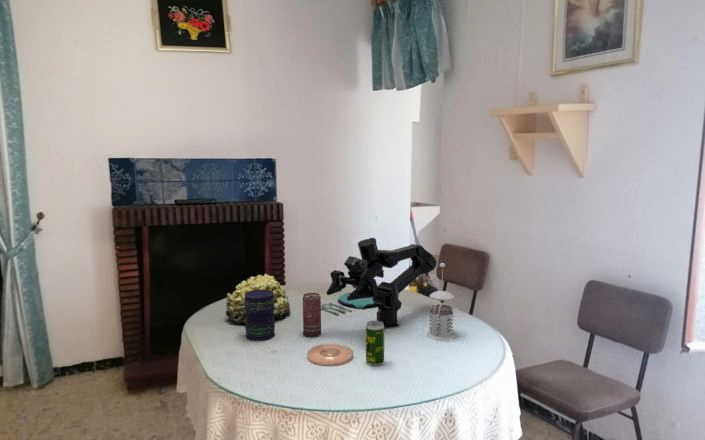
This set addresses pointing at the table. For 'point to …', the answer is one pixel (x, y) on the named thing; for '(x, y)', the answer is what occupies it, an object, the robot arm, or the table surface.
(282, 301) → the cauliflower
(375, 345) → the beer can
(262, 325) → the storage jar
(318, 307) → the can
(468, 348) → the table surface
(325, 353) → the saucer
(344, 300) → the cutlery set
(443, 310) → the french press
